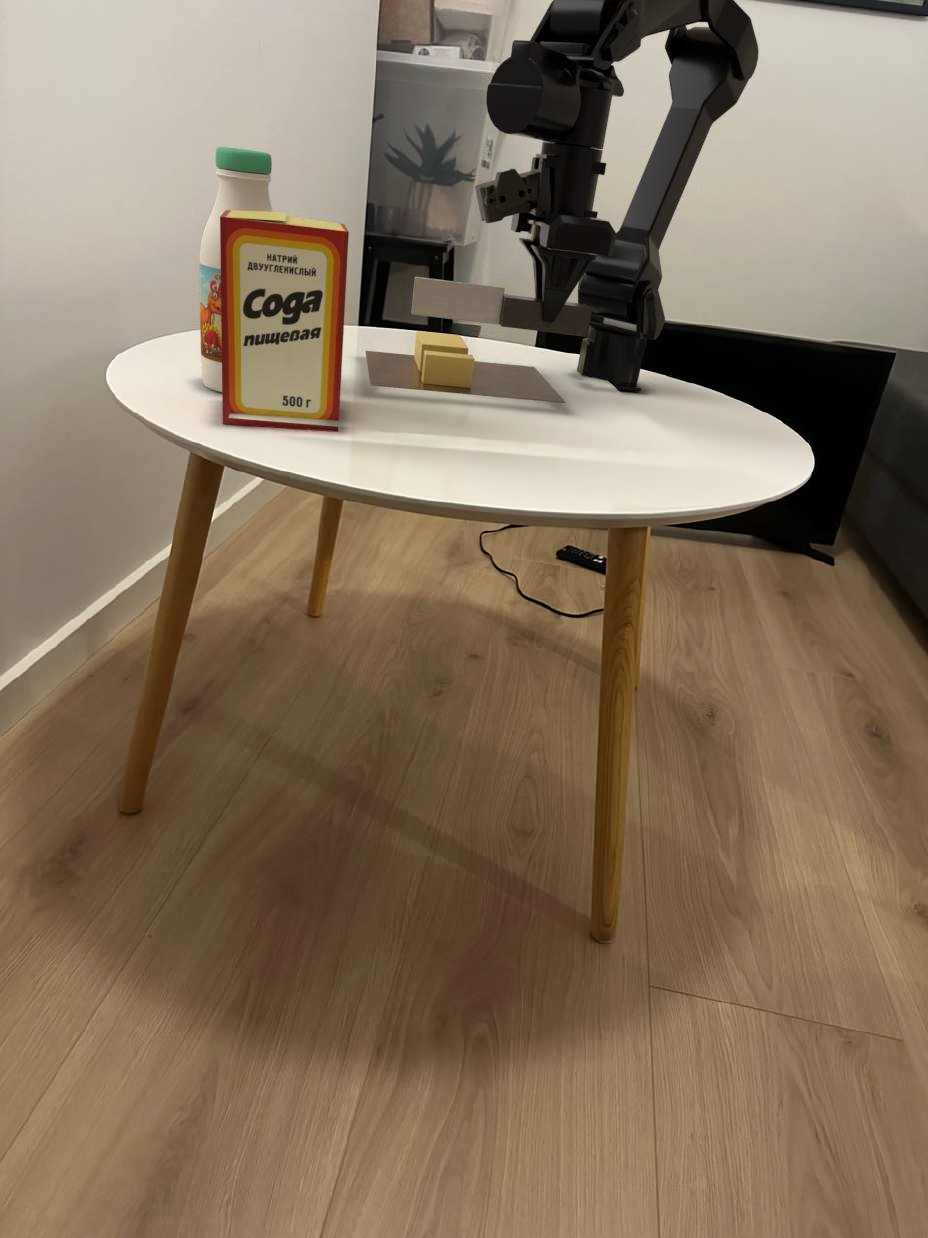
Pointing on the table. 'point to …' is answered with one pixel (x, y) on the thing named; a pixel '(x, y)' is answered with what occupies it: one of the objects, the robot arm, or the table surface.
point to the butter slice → (447, 369)
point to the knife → (494, 307)
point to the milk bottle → (240, 191)
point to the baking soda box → (282, 317)
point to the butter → (437, 345)
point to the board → (484, 382)
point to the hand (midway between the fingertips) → (544, 319)
